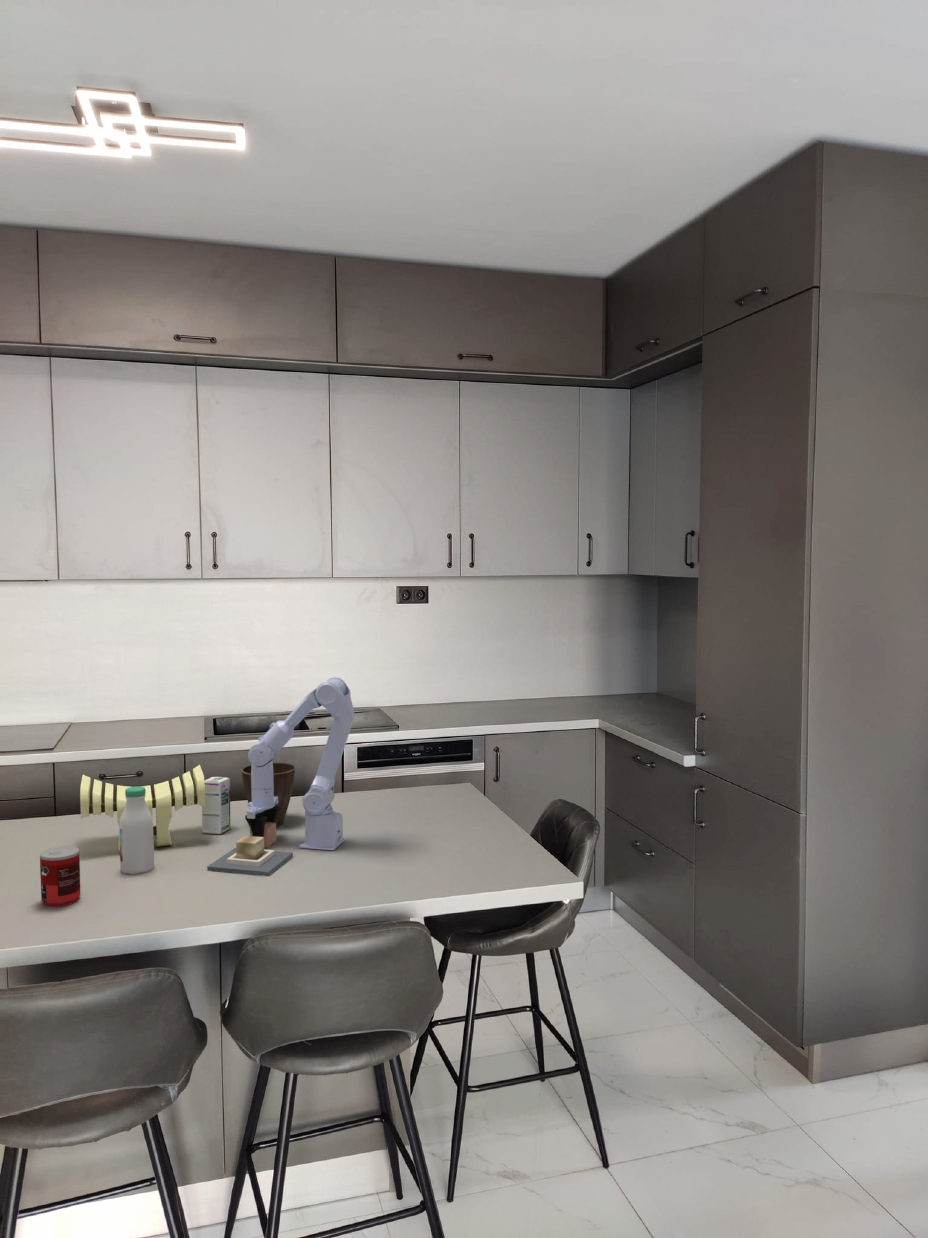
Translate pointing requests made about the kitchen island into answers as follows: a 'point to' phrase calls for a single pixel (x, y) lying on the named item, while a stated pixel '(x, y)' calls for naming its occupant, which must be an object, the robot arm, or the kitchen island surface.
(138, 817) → the milk bottle
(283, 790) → the plant pot
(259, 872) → the slate baseplate
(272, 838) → the terracotta block
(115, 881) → the kitchen island surface
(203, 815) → the syrup box
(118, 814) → the slatted curved stool
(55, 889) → the canned food
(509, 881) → the kitchen island surface
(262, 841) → the oak block
